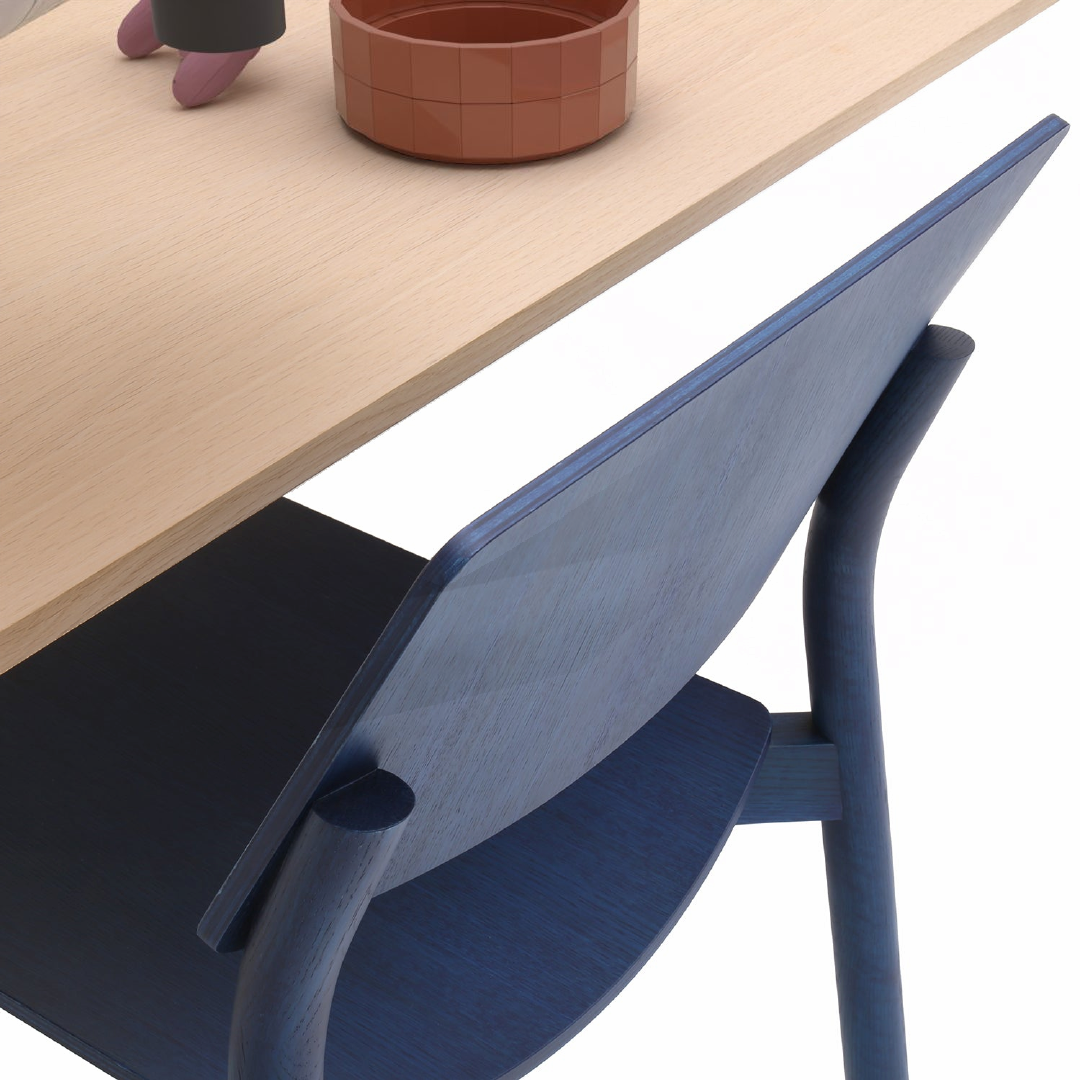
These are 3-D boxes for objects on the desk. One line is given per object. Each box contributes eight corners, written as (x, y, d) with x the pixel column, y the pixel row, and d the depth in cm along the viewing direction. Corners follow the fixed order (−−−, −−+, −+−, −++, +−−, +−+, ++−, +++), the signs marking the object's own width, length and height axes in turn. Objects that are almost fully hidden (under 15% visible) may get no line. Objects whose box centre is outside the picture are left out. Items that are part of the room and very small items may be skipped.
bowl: (383, 188, 79) (376, 63, 75) (307, 77, 90) (298, -36, 87) (681, 146, 83) (687, 26, 80) (571, 45, 95) (573, -64, 91)
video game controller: (250, 128, 89) (296, 0, 86) (172, 105, 86) (217, -28, 83) (181, 70, 95) (222, -51, 93) (107, 47, 92) (146, -78, 90)
